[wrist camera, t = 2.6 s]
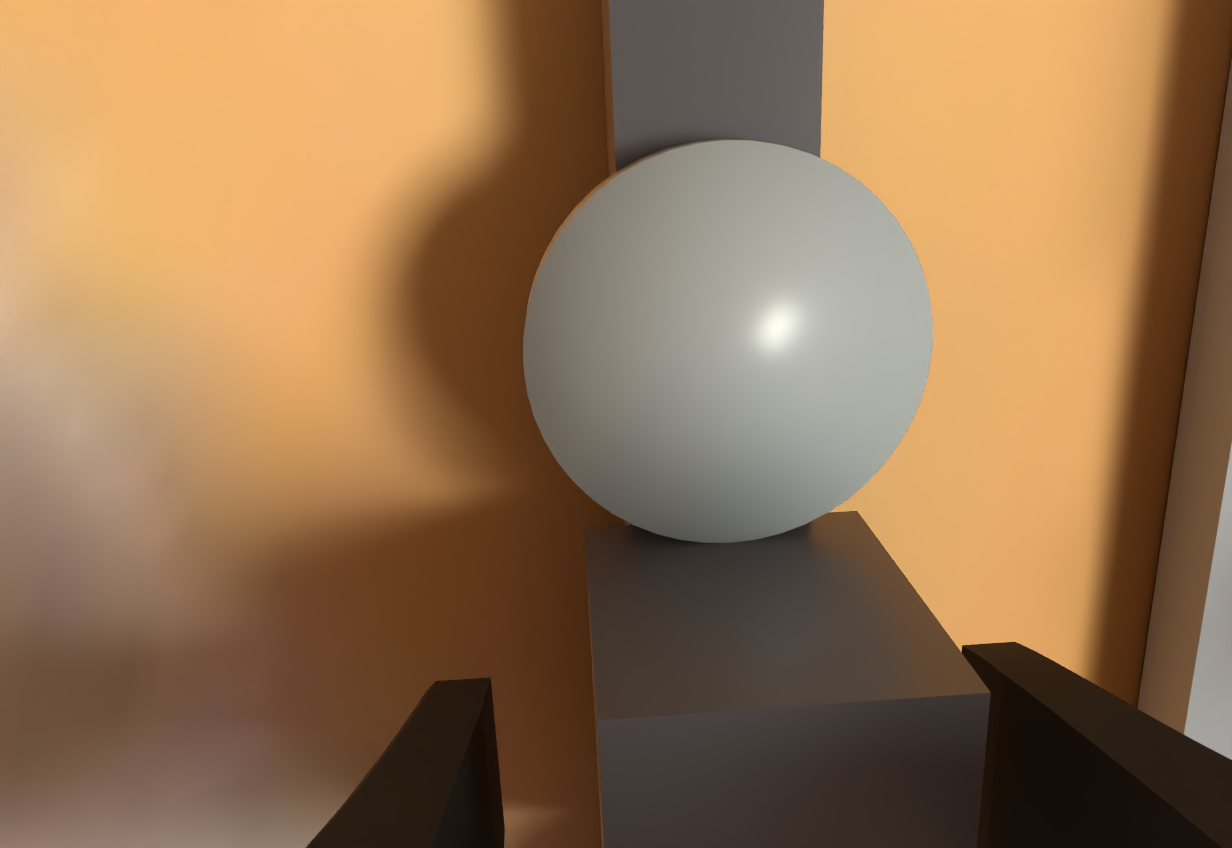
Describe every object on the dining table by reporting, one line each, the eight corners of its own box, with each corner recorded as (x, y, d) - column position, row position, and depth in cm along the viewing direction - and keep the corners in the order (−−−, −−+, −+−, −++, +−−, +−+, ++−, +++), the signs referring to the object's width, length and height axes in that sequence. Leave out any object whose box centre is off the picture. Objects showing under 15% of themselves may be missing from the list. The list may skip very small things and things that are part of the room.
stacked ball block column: (836, 1107, 16) (957, 1541, 11) (585, 1129, 16) (598, 1580, 11) (881, -73, 10) (1157, -218, 6) (502, -59, 10) (457, -198, 5)
